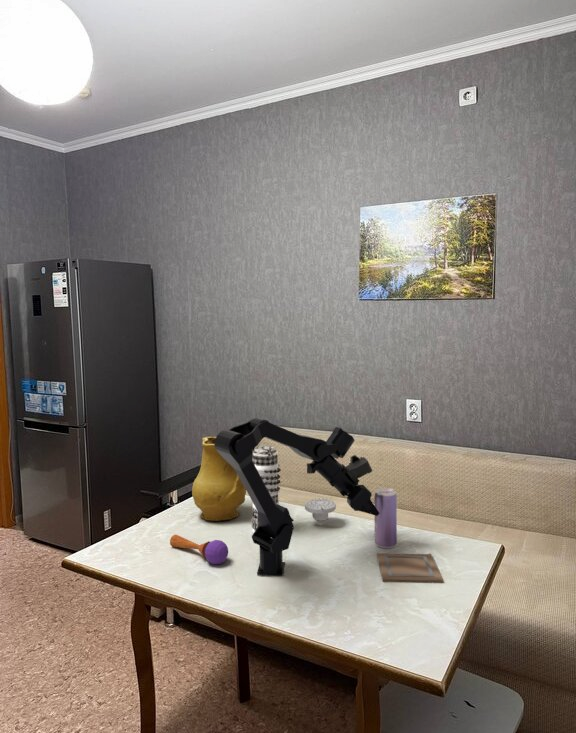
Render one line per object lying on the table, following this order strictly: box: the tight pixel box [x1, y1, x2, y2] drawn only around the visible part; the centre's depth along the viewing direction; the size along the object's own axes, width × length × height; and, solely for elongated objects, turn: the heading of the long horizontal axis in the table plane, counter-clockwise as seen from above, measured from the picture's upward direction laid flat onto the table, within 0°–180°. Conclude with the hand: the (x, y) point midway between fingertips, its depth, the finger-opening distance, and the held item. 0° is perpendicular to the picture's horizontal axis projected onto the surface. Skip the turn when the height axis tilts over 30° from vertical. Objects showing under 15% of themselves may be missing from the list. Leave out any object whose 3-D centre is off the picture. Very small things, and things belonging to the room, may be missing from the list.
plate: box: [376, 552, 444, 584], centre depth 133 cm, size 14×14×1 cm
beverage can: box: [373, 487, 398, 549], centre depth 146 cm, size 6×6×15 cm
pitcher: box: [191, 436, 247, 522], centre depth 169 cm, size 17×19×25 cm
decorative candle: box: [251, 445, 282, 534], centre depth 157 cm, size 9×9×25 cm
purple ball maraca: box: [169, 534, 229, 565], centre depth 142 cm, size 6×6×20 cm
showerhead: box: [304, 497, 337, 526], centre depth 162 cm, size 9×7×10 cm
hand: (373, 508), depth 146 cm, fingers open, 9 cm apart
